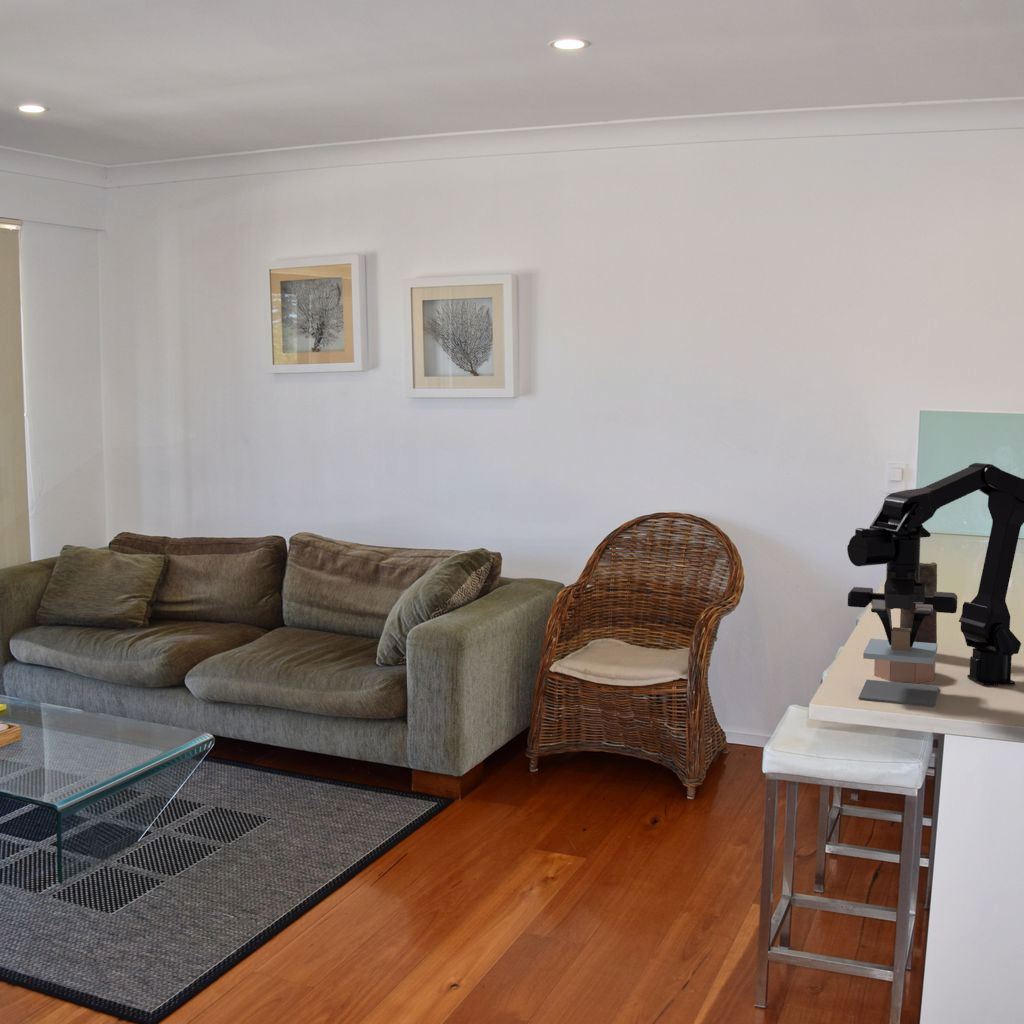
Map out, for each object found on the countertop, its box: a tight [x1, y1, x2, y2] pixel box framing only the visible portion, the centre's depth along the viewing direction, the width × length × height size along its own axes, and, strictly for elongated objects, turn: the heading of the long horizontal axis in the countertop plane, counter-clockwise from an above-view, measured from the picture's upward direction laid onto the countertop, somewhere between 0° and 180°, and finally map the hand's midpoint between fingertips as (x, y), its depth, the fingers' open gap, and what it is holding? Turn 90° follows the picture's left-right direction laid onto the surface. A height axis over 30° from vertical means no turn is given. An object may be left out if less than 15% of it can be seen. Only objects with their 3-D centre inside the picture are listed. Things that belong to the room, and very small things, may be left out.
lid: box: [862, 626, 938, 664], centre depth 205 cm, size 12×12×4 cm
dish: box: [873, 656, 937, 684], centre depth 219 cm, size 11×11×4 cm
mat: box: [858, 679, 939, 708], centre depth 206 cm, size 13×13×1 cm
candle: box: [899, 561, 938, 654], centre depth 234 cm, size 8×7×20 cm
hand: (901, 645), depth 205 cm, fingers closed on lid, 3 cm apart
